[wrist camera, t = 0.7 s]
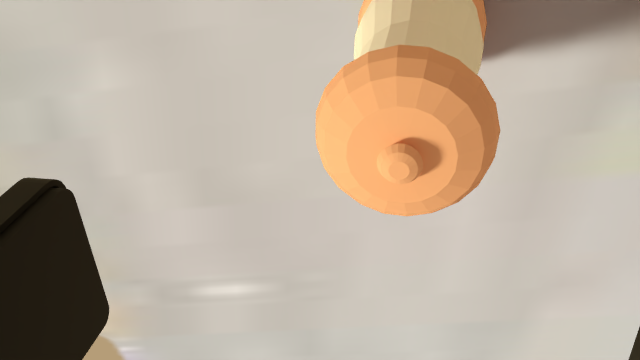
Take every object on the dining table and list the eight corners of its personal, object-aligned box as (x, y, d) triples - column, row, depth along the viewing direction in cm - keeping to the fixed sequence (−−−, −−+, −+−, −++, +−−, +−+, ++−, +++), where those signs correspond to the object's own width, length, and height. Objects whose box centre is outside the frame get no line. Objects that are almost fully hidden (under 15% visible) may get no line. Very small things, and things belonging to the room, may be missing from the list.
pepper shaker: (404, -75, 34) (361, 29, 18) (509, -10, 35) (556, 145, 19) (343, 30, 38) (264, 192, 22) (439, 87, 39) (428, 282, 23)
